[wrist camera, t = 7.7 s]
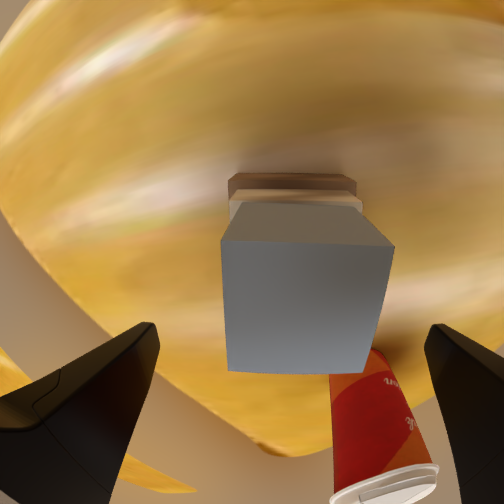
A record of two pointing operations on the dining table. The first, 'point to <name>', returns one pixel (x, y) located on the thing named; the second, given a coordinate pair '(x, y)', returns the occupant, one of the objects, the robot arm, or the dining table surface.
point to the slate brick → (302, 288)
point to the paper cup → (376, 439)
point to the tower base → (290, 180)
